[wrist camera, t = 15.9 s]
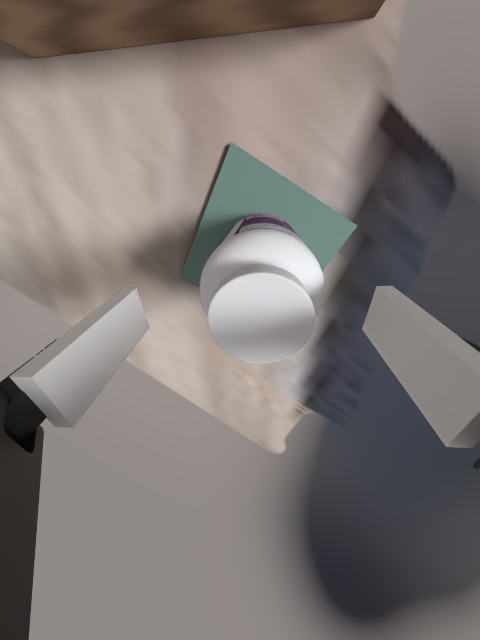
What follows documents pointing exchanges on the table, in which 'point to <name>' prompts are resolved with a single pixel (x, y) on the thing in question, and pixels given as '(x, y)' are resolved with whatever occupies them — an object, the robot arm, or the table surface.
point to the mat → (263, 211)
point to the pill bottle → (261, 290)
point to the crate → (157, 21)
